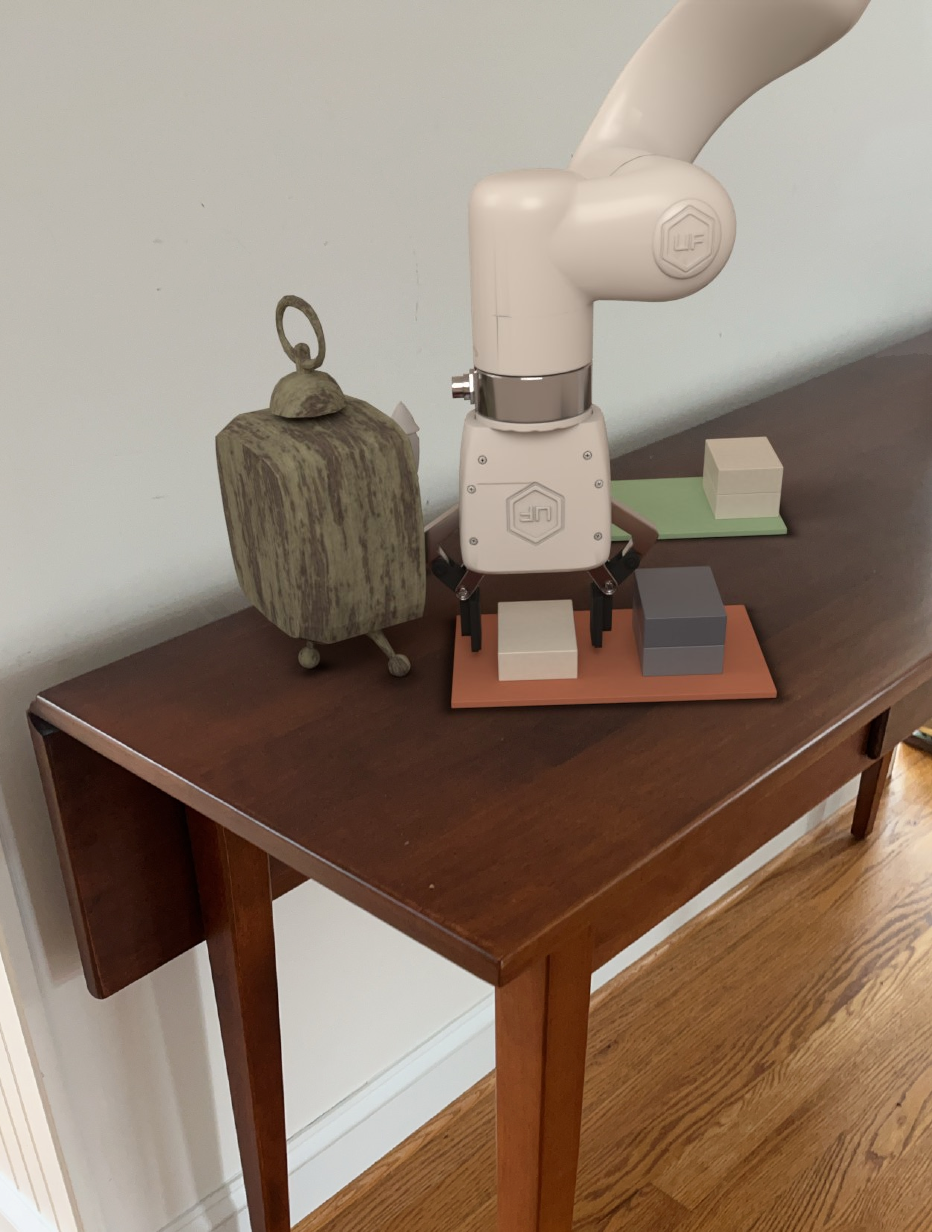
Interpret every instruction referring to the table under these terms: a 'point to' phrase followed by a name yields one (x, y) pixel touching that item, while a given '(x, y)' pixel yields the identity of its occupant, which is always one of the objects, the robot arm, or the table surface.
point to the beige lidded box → (742, 478)
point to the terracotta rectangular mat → (609, 669)
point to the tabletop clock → (323, 509)
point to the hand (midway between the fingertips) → (536, 640)
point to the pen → (408, 428)
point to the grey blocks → (678, 621)
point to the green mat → (683, 510)
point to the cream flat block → (537, 640)
